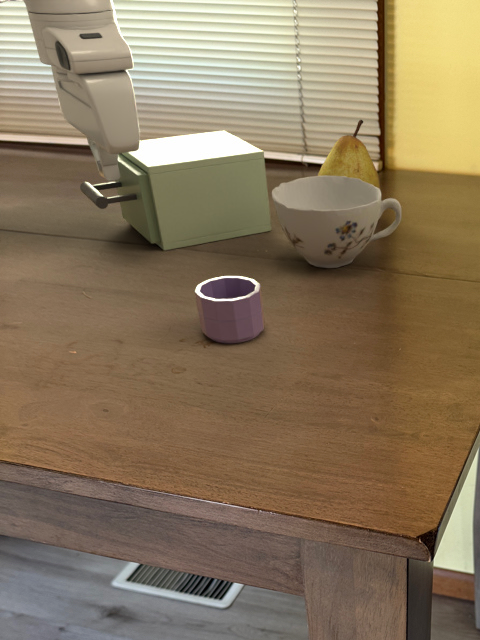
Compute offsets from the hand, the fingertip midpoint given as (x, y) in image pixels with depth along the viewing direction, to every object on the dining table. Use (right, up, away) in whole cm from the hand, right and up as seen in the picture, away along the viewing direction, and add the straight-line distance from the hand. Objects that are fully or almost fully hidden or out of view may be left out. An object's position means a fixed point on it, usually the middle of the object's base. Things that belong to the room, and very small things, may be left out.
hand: (110, 178), depth 91 cm
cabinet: (+9, -2, +9) cm, 13 cm away
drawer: (+5, -3, +7) cm, 9 cm away
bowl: (+18, -23, -15) cm, 33 cm away
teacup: (+28, -10, +1) cm, 30 cm away
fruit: (+28, 0, +12) cm, 30 cm away
